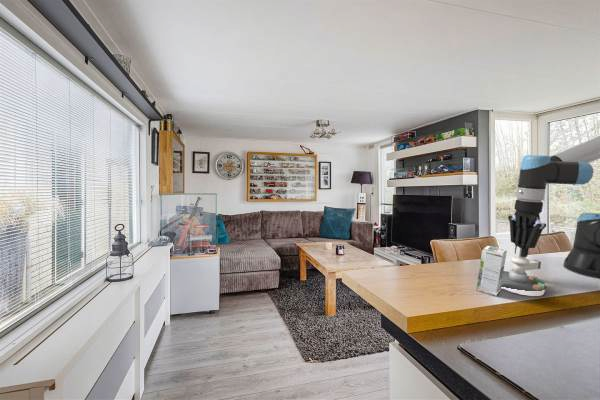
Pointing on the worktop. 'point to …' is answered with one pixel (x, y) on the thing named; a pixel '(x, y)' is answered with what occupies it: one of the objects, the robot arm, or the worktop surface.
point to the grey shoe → (522, 281)
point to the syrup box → (491, 269)
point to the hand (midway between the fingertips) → (519, 264)
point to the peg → (524, 264)
